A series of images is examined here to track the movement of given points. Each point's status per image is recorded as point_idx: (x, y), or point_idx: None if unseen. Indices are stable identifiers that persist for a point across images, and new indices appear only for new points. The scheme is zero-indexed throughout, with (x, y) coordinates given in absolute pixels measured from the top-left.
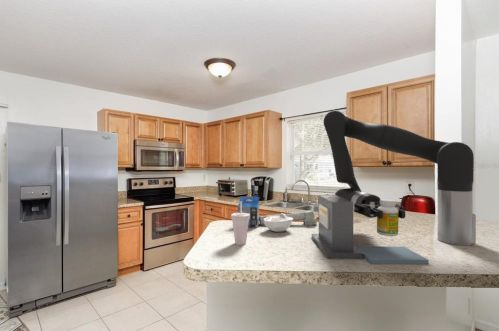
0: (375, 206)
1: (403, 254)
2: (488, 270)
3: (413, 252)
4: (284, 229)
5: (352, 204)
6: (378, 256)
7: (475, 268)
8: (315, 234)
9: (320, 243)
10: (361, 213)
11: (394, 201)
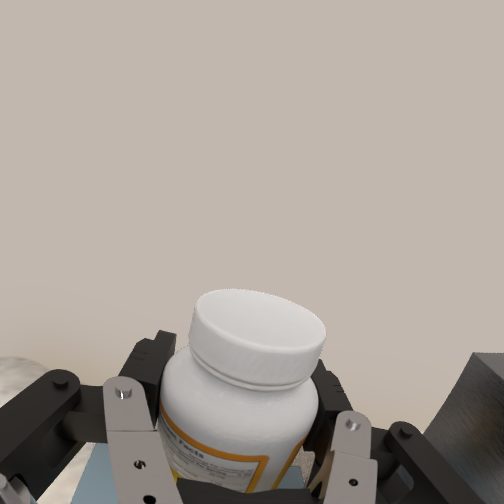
0: (307, 491)
1: None
2: (11, 362)
3: (83, 490)
4: None
5: (468, 365)
6: None
7: (20, 377)
8: None
9: None
10: (401, 485)
11: (230, 291)
